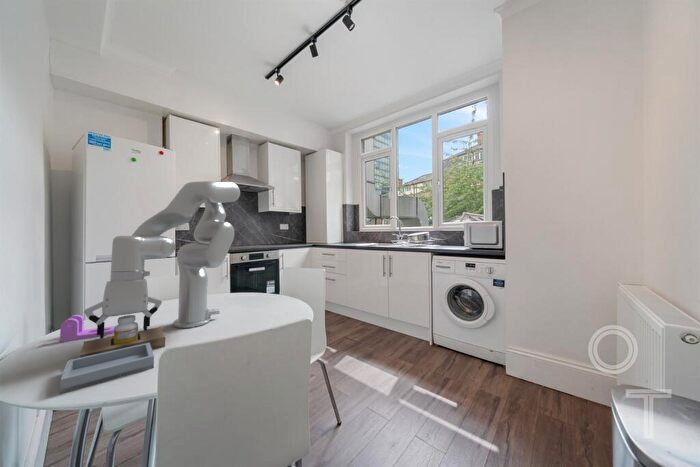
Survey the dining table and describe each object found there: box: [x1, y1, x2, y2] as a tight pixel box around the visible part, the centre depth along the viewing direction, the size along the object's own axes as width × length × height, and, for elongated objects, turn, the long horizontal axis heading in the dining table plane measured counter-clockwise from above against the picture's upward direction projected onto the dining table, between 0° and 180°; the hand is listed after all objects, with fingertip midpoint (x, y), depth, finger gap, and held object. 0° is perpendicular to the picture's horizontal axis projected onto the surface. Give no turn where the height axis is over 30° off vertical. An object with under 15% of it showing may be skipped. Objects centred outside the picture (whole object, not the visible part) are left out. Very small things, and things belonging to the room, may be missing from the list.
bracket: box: [59, 314, 116, 343], centre depth 84 cm, size 13×6×7 cm, turn 123°
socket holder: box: [79, 326, 166, 358], centre depth 74 cm, size 18×11×3 cm, turn 134°
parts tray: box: [59, 343, 155, 394], centre depth 63 cm, size 16×11×3 cm
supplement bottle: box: [113, 314, 139, 345], centre depth 74 cm, size 5×5×10 cm
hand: (124, 332), depth 74 cm, fingers open, 9 cm apart
